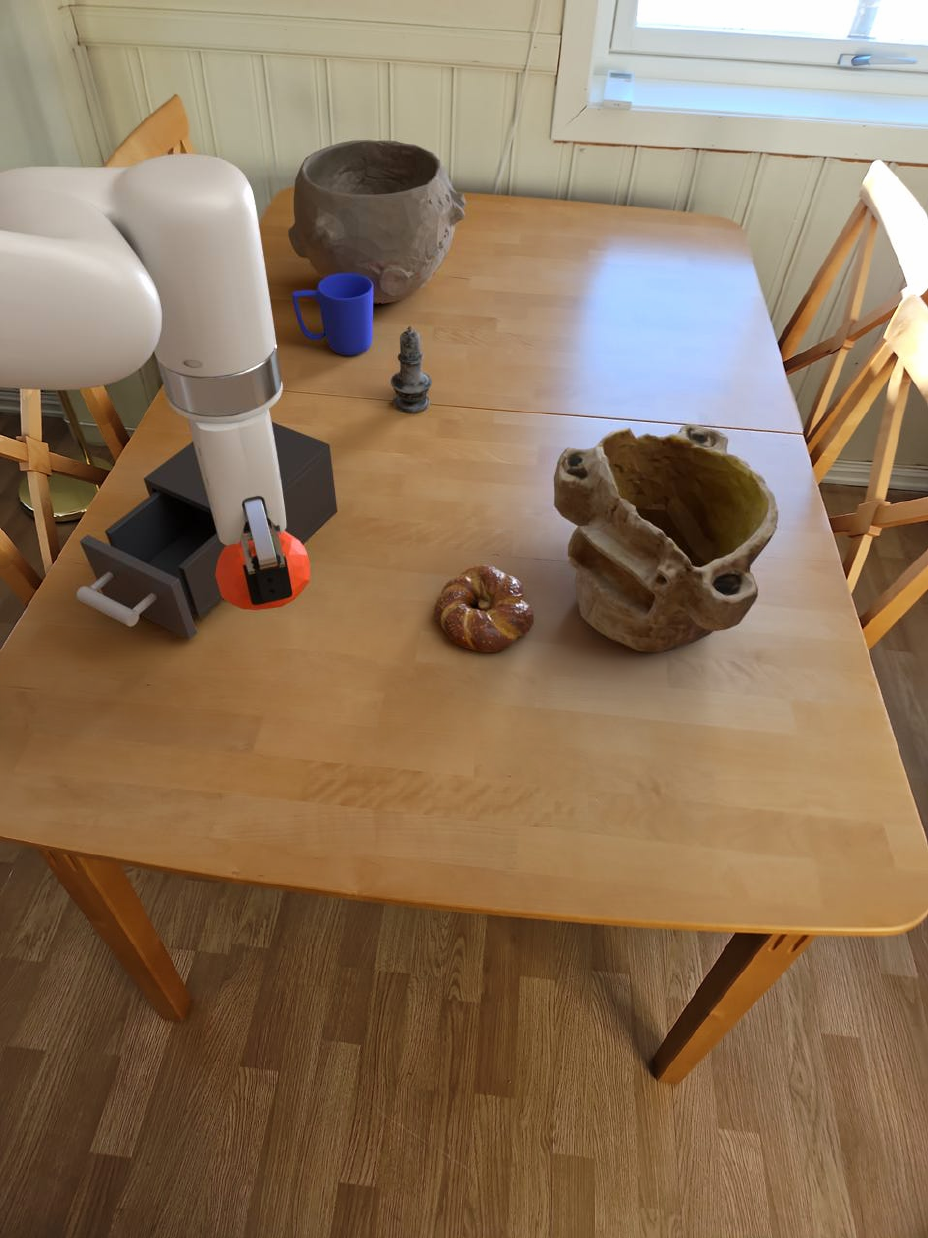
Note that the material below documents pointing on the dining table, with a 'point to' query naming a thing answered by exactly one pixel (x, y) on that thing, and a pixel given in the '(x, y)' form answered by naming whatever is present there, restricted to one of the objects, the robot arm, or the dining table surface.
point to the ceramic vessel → (663, 534)
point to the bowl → (375, 214)
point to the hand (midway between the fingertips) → (262, 564)
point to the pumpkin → (235, 581)
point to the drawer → (156, 565)
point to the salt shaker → (411, 376)
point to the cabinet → (299, 471)
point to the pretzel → (483, 609)
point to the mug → (342, 312)
